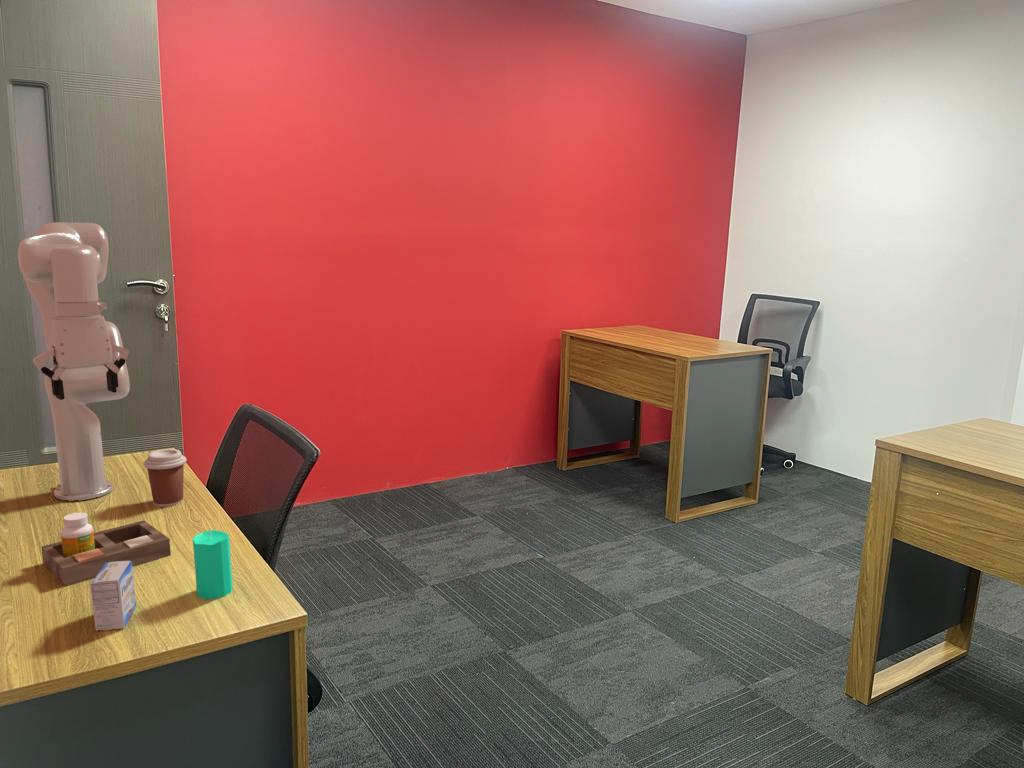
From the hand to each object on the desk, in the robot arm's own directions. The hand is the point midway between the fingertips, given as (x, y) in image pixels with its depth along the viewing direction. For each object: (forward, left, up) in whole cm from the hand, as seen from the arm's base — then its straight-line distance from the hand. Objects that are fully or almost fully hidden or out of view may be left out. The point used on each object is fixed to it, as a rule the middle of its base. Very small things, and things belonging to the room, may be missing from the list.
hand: (86, 394), depth 154 cm
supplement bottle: (+11, -7, -31) cm, 33 cm away
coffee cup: (-10, +18, -31) cm, 37 cm away
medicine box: (+38, -10, -31) cm, 50 cm away
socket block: (+13, -3, -30) cm, 33 cm away
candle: (+40, +6, -31) cm, 51 cm away
